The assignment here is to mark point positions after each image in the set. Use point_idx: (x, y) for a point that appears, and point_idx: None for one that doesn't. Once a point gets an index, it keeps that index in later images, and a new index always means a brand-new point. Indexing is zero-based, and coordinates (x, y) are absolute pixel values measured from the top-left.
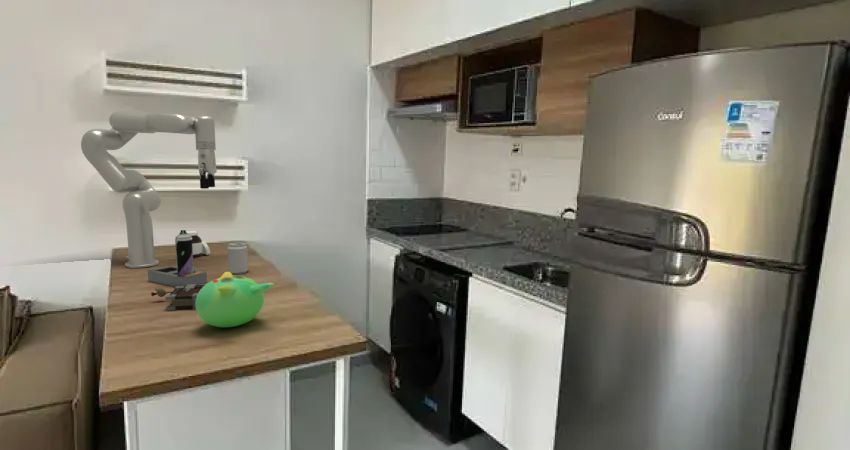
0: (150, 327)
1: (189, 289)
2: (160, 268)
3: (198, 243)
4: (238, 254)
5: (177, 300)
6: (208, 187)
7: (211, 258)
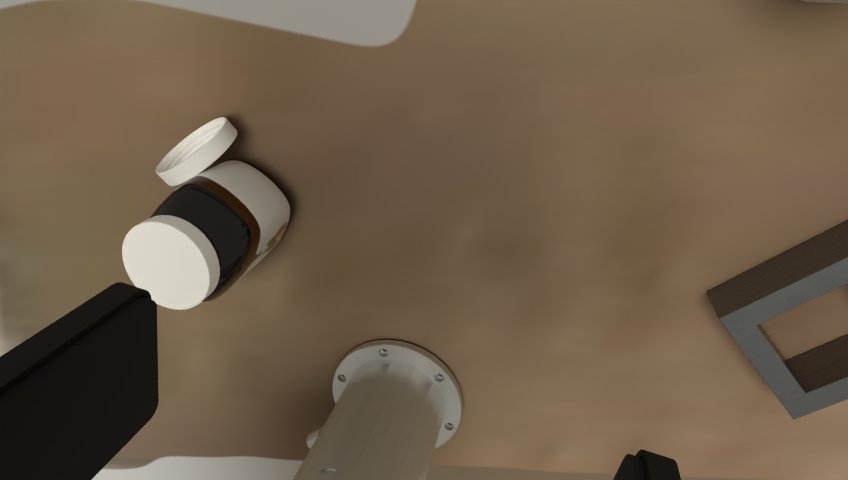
0: None
1: None
2: (766, 369)
3: (237, 195)
4: None
5: None
6: (678, 471)
7: (318, 107)
